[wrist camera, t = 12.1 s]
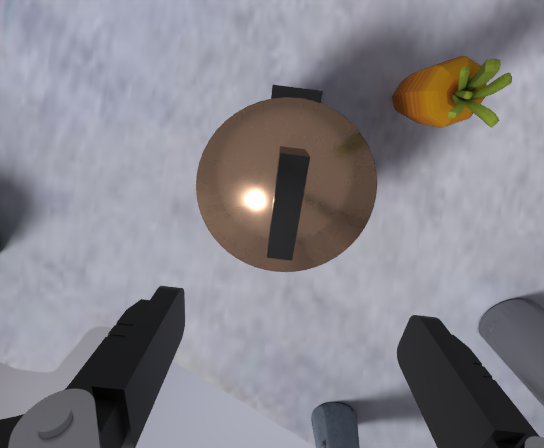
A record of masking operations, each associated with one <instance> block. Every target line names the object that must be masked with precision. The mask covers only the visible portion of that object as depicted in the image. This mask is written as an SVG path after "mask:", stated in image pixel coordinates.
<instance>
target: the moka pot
mask: <svg viewBox="0 0 544 448" xmlns="http://www.w3.org/2000/svg"><path fill="white" fill-rule="evenodd" d="M312 427H313V432H314V438H315V443H316V448H359V437H358V425H357V416H356V414H355V412H354V411H353V410H352V409H351V408H350V407H349V406H346V405H344V404H341V403H334V402H333V403H325V404H322V405H320V406H318V407H317V408H316V409H315V410H314V411H313V413H312Z"/></svg>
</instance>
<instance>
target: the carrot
mask: <svg viewBox="0 0 544 448" xmlns="http://www.w3.org/2000/svg"><path fill="white" fill-rule="evenodd" d="M500 65H501V64H500V60H498V59H491V60H486V61H485V63H484V64H483V65H482V66H480V65H479V64H477V63H475V62H474V61H472V60H471V59H469V58H468V57H465V56H460V57H457V58H454V59H451V60H448V61H445V62H443V63H440V64H437V65H434V66H432V67H429V68H426V69H424V70H421V71H418V72H416V73H413V74H411V75H410V76H408V77H407V78H406V79H404V80H403V81H402V82H401V83H400V85H399V87H398V88H397V90H396V92H395V93H394V95H393V104H394V108H395V110H396V111H398V112H399V113H401V114H403V115H404V116H406V117H408V118H409V119H411V120H413V121H415V122H417V123H420V124H424V125H429V126H434V127H444V126H447V125H450V124H454V123H457V122H460V121H463V120H466V119H468V118H470V117H471V116H472V114H473V113H475V114H476V115H477V116H478V117H480V118H481V119H482V120H483V121H484V122H485V123H486V124H487V125H489V126H490V127H493V126H494V125H495V124H496V123H497V122H498V121H499V119H498V117H497V116H496V114H495V113H494V112H492V111H491V110H490V109H488V108H486V107H485V106H483V105H481V104H480V103H481V102H482V101H483V99H484V98H485V97H486V96H488V95H491V94H494V93H496V92H497V91H499V90H501V89H503V88H504V87H506V86H507V85H509V84H510V83H511V82H512V76H511V74H510V73H506V74H504V75H502V76H501V77H499V78H498V79H496V80H495V81H493V82H492V83H490V84H489V85H487V86H486V83H487V82H488V81H489V80H490V79H492V78H493V77H494V76H495V74H496V73H497V72H498V71H499V68H500Z"/></svg>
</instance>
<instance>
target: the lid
mask: <svg viewBox="0 0 544 448" xmlns="http://www.w3.org/2000/svg"><path fill="white" fill-rule="evenodd" d="M376 190H377V176H376V169H375V164H374V160H373V157H372V154H371V151H370V149H369V147H368V145H367V143H366V141H365V139H364V138H363V137H362V135H361V134H360V132H359V131H358V130H357V128H356V127H355V126H354V125H353V124H352V123H351V122H350V121H349V120H348V119H346V118H345V117H344V116H342V115H341V114H340V113H338V112H337V111H335V110H333V109H331V108H330V107H328V106H326V105H323V104H320V103H318V102H315V101H311V100H307V99H302V98H289V97H285V98H273V99H269V100H265V101H260V102H258V103H255V104H253V105H250V106H247V107H246V108H244V109H242V110H240V111H239V112H237V113H235V114H234V115H233V116H231V117H230V118H229V119H228V120H226V121H225V122H224V123H223V124H222V125H221V126H220V127H219V128H218V129H217V130H216V132H215V133H214V135H213V136H212V137H211V139H210V140H209V142H208V144H207V146H206V148H205V149H204V151H203V154H202V157H201V160H200V162H199V167H198V172H197V181H196V191H197V200H198V205H199V209H200V212H201V215H202V218H203V220H204V222H205V224H206V226H207V228H208V230H209V231H210V233H211V234H212V236H213V237H214V238H215V239H216V241H217V242H218V243H219V244H220V245H221V246H222V247H223V248H224V249H225V250H226V251H227V252H229V253H230V254H232V255H233V256H234V257H236V258H237V259H239V260H241V261H243V262H245V263H247V264H249V265H252V266H254V267H257V268H261V269H264V270H270V271H277V272H294V271H301V270H306V269H310V268H314V267H317V266H319V265H322V264H324V263H326V262H328V261H330V260H332V259H334V258H335V257H337V256H338V255H340V254H341V253H342V252H344V251H345V250H346V249H347V248H348V247H349V246H350V245H351V244H352V243H353V242H354V241H355V240H356V239H357V238H358V237H359V235H360V234H361V232H362V231H363V229H364V228H365V226H366V224H367V222H368V220H369V218H370V216H371V213H372V210H373V207H374V203H375V198H376Z"/></svg>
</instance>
